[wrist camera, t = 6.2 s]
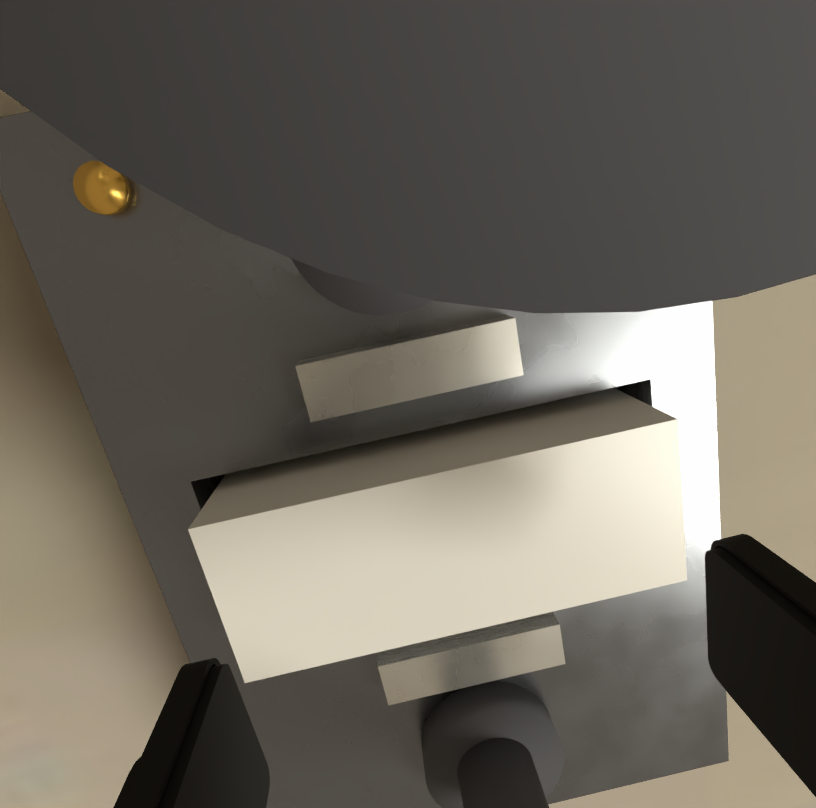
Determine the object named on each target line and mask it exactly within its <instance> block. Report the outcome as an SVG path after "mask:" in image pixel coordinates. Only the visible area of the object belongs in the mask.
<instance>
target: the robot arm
mask: <svg viewBox="0 0 816 808" xmlns="http://www.w3.org/2000/svg"><path fill="white" fill-rule="evenodd" d="M705 582H706V613H707V643H708V661H709V665H710V668H711V670H712V672H713V674H714V676H715V677H716V679H717V680H718V682H719V683H720V684H721V685H722V686H723V688H724V689H725V690H726V691H727V692H728V693H729V695H730V696H731V697H732V698H733V699H734V701H735V702H736V703H737V704H738V705H739V706H740V708H741V709H742V710H743V711H744V712H745V714H746V715H747V716H748V717H749V718H750V720H751V721H752V722H753V723H754V724H755V725H756V727H757V728H758V729H759V730H760V731H761V733H762V734H763V735H764V736H765V737H766V739H767V740H768V741H769V742H770V743H771V744H772V746H773V747H774V748H775V749H776V750H777V752H778V753H779V754H780V755H781V756H782V758H783V759H784V760H785V761H786V762H787V763H788V765H789V766H790V767H791V768H792V769H793V771H794V772H795V773H796V774H797V775H798V776H799V778H800V779H801V780H802V781H803V782H804V784H805V785H806V786H807V787H808V788H809V790H810V791H811V792H812V793H813V794H814V795H815V797H816V583H815V582H814V581H813V580H811V579H810V578H808V577H807V576H806V575H804V574H803V573H801V572H800V571H799V570H797V569H796V568H794V567H793V566H792V565H790V564H789V563H787V562H786V561H785V560H783V559H782V558H780V557H779V556H778V555H776V554H775V553H773V552H772V551H771V550H769V549H768V548H766V547H765V546H764V545H762V544H761V543H759V542H758V541H757V540H755V539H754V538H752V537H751V536H749V535H746V534H740V535H736V536H732V537H728V538H723V539H719V540H715V541H713V543H712V544H711V550H708V551H706V553H705ZM269 787H270V773H269V767H268V764H267V761H266V758H265V756H264V753H263V751H262V748H261V746H260V743H259V740H258V738H257V735H256V733H255V730H254V728H253V725H252V722H251V720H250V717H249V715H248V712H247V710H246V707H245V704H244V702H243V699H242V697H241V694H240V692H239V689H238V686H237V684H236V681H235V679H234V676H233V674H232V671H231V669H230V667H229V665H228V664H220V662H219V660H218V659H216V658H211V659H206V660H202V661H198V662H194V663H189V664H185V665H184V666H182V668H181V669H180V671H179V673H178V675H177V677H176V680H175V682H174V684H173V686H172V689H171V691H170V693H169V695H168V698H167V700H166V702H165V704H164V707H163V709H162V711H161V713H160V716H159V718H158V720H157V722H156V725H155V727H154V729H153V731H152V734H151V736H150V738H149V740H148V743H147V745H146V747H145V749H144V752H143V754H142V756H141V757H140V758H139V759H138V760H137V761H136V762H135V764H134V765H133V767H132V769H131V771H130V772H129V775H128V777H127V779H126V781H125V783H124V786H123V788H122V790H121V792H120V795H119V797H118V799H117V801H116V803H115V806H114V808H266V806H267V800H268V794H269Z"/></svg>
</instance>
